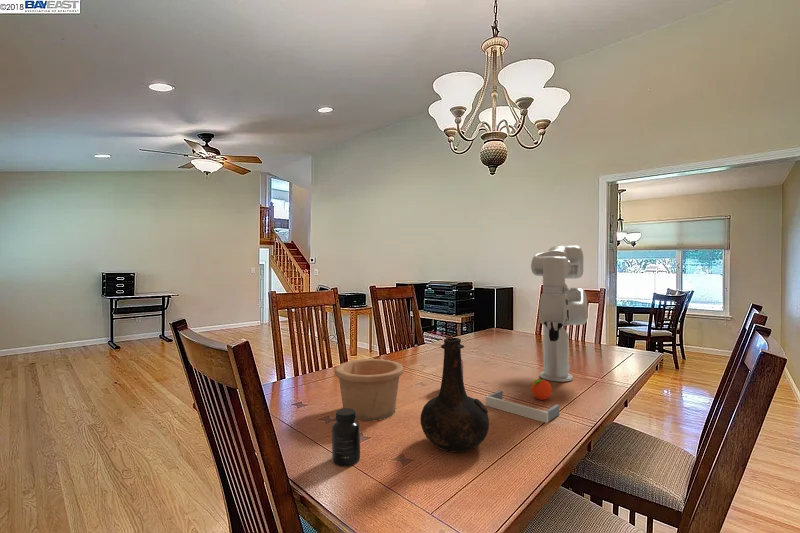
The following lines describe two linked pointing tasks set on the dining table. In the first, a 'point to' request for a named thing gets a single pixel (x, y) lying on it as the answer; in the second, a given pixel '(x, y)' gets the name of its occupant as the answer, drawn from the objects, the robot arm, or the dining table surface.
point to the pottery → (369, 387)
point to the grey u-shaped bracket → (521, 408)
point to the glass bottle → (454, 408)
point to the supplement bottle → (345, 438)
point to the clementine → (541, 389)
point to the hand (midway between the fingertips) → (553, 340)
